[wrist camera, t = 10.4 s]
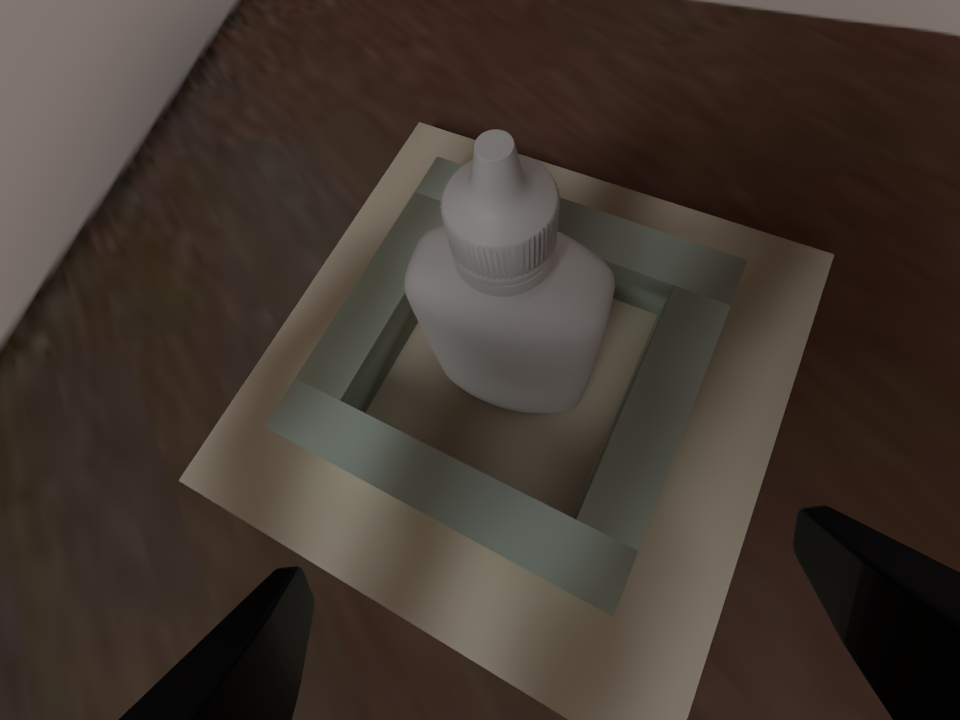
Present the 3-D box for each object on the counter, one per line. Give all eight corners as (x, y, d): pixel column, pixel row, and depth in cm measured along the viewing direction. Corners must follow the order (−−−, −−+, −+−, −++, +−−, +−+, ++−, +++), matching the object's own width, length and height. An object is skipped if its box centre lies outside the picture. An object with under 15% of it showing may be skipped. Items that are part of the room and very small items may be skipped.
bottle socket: (818, 269, 21) (874, 216, 18) (657, 763, 16) (693, 826, 12) (424, 140, 26) (407, 78, 22) (197, 483, 20) (130, 472, 17)
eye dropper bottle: (504, 293, 21) (473, 7, 10) (605, 379, 19) (710, 152, 8) (430, 362, 20) (302, 137, 9) (527, 458, 18) (521, 331, 7)
